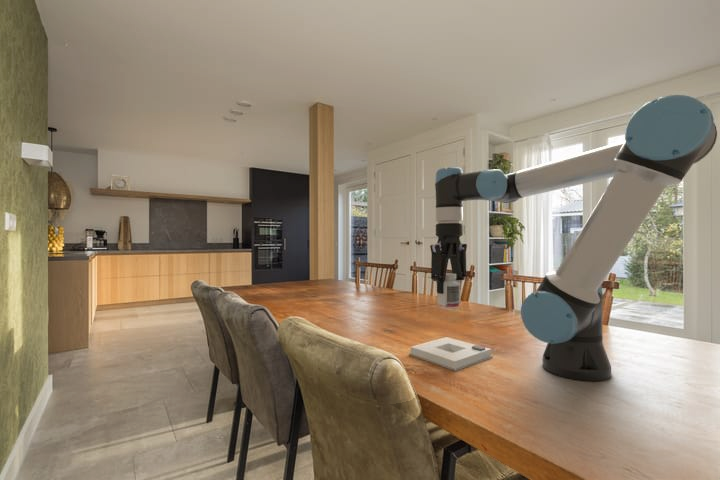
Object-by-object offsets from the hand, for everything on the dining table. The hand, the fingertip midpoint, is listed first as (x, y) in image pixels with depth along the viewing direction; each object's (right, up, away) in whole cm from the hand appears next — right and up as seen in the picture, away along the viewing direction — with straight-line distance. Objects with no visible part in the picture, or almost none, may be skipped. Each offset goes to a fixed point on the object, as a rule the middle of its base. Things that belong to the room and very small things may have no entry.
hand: (449, 303), depth 105 cm
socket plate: (0, -15, 0) cm, 15 cm away
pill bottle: (0, -1, 0) cm, 2 cm away
